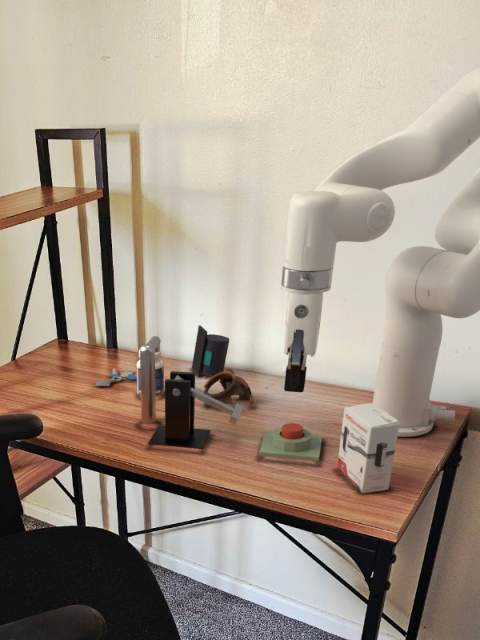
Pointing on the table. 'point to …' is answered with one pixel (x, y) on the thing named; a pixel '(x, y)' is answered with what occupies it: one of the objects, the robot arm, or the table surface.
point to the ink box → (368, 446)
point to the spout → (148, 380)
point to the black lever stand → (180, 415)
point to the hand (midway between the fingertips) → (294, 389)
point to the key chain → (115, 375)
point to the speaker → (209, 353)
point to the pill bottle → (158, 375)
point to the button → (292, 431)
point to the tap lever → (217, 404)
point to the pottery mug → (229, 387)
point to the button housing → (291, 446)
